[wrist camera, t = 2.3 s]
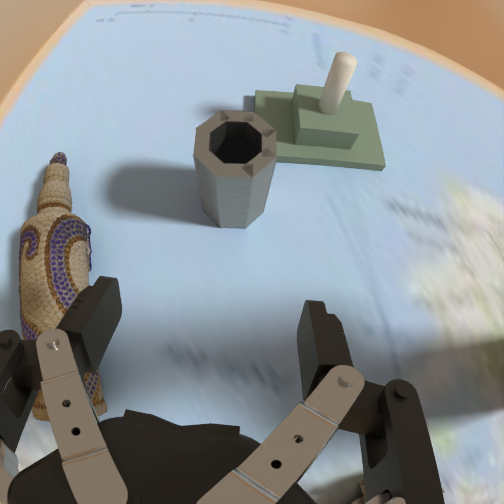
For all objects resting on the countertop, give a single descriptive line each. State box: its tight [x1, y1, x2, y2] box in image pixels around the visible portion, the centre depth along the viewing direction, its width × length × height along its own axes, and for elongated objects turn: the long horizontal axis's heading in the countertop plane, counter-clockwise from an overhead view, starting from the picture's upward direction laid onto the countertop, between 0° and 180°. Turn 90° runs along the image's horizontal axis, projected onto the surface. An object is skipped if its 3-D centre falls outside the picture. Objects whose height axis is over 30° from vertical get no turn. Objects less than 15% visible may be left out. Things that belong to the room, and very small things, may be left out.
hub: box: [193, 111, 277, 228], centre depth 26 cm, size 6×6×10 cm
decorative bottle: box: [19, 152, 107, 421], centre depth 25 cm, size 26×8×7 cm, turn 10°
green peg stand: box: [255, 52, 386, 171], centre depth 29 cm, size 14×9×11 cm, turn 90°
